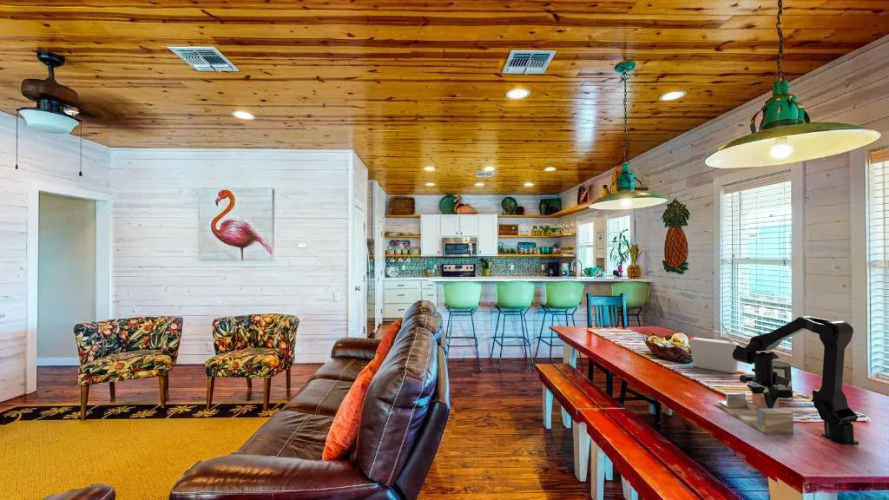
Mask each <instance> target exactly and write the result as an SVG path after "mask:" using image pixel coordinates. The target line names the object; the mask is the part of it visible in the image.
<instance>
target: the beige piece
mask: <svg viewBox="0 0 889 500" xmlns="http://www.w3.org/2000/svg"><path fill="white" fill-rule="evenodd" d="M714 406H716V407H718V408H719V409H721V410H723V411H725V412H726V413H728V414H730V415H732V416H734V417H735V418H737V419H738V420H741V421H742V422H745V423H746V424H747V425H749V426H751V427H753V428H754V429H756V430H758V431H760V432H762V433H763V434H764V435H765V434H766V435H767V436H779V435H781V436H782V435H795V434H794V414H793V412H792V411H790V410H786V409H783V410H782V409H780V410H778V411H762V427H760V426H759V425H758V409H762V408H760V407H758V406H756V405H754V404H752V402H749V401H747V400H746V407H742V408H728V407H726V406H724V405H722V404H720V403H719V402H718V401H716V402H714Z"/></svg>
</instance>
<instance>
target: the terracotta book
mask: <svg viewBox="0 0 889 500" xmlns="http://www.w3.org/2000/svg"><path fill="white" fill-rule="evenodd" d="M751 403H752V404H754V405H756V406H758V407H760V408H762V409H766V408H768V407H767V404H766V401H765V397H764V394H763V393H752V392H751ZM779 403H780V399H779V398H777V400H776V402H775V404H774V406H773V408H778V409H780V404H779Z"/></svg>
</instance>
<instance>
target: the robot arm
mask: <svg viewBox="0 0 889 500" xmlns="http://www.w3.org/2000/svg"><path fill="white" fill-rule="evenodd" d="M805 330H808V331H810V332H811V333H814V334H817V335H819V337H818V338H819V340H820V341H821V344H822V345H823V360H822V361H823V362H822V374H821V375H822V379H821V387H820V388H816V389H813V390H812V399H811V402H813V407H814V409H816V411H817V412H818V415H819V418H820V419H821V421H823V424H824V427H823V428H824V432H820V435H821V436H823V437H824V438H827V439H829V440H831V441H833V442H836V443H837V444H839V445H840V444H841V445H843V444H845V445H849V444H850V445H851V444H859V443H860V442H859V441H858V440H856V439H855V436H854V433H855V431H854V424H853V423H855V422H857V421H858V419H859V416H858V415H857V414H856V413H855V412H854V411H853V409H851V408H850V407H849V403H848V398H847V396H846V394H845V393H844V391H843V379H844V378H843V377H844V365H845V364H844V363H845V350H846V347H847V346H848V345H849V344H850V343H851V341H852V337H853V335H854V328H853V326H851V325H850V324H849V323H848V322H847V321H844V320H830V319H823V318H818V317H814V316H810V315H805V316H798V317H796V318H795V319H794V320H792V321H790V322H789V323H786V324H783V325H782V326H780V327H778V328H776V329H774V330H772V331H770V332H767V333H763V334H758V335H755V336H752V337H751V338H750V339H749V343H748V344H747V345H746V346H745V345H741V344H740V345H736V348H735V349H734V351H733V353H732V356H733V358H734V360H736V361H738V362H741V363H744V364H747V365H754V368H751V371H752V372H753V373H754V374H750V373H749V374H741V375H740V376H739V382H741V383H743V384H746V386H747V388H748V389H749V390H750V392H751V394H752V393H763V394H764V397H765V401H766V404H767V407H768V408H773V406H774V404H775V402H776V400H777V398H789V397H793V398H794V392H793V390H792V391H791V390H790V389H788V388H785V387H788V385H789V382H790V380H789V379H787V378H784V377H781V376H778V374H777V372H775V371H773V361H774V360H778V359H780V357H779V355H777V354H776V353H775V352H774V351H772V350H774V349H776V348H777V347H778V346H780V345H781V343H782V342H783V341H785V340H787V339H789V338H790V337H793V336H795V335H797V334H799V333H802V332H804V331H805ZM766 351H769V352H766ZM747 383H748V384H747ZM779 384H781V385H784V386H785V387H783V386H777V387H774V385H779ZM765 389H768V392H764V390H765Z"/></svg>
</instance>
